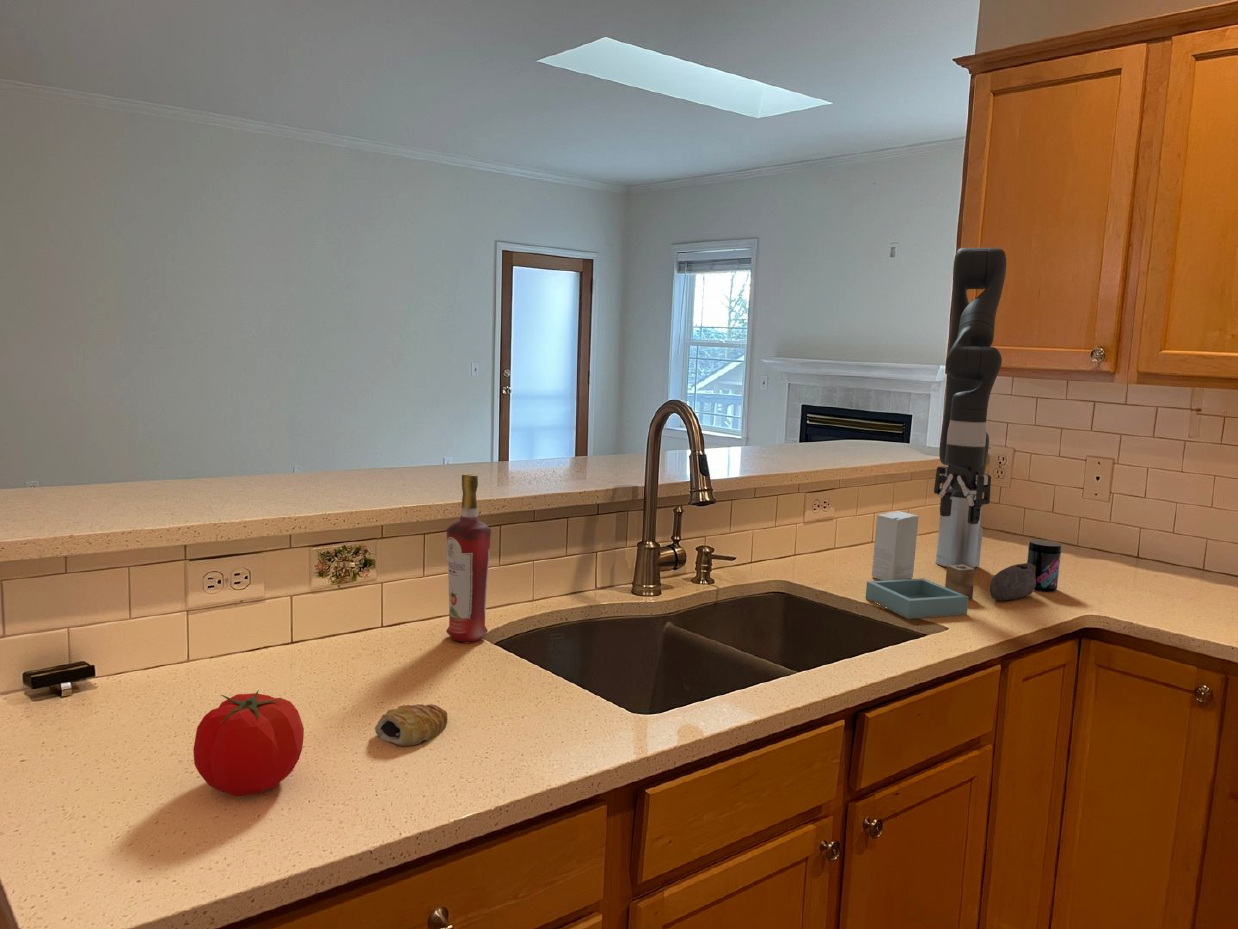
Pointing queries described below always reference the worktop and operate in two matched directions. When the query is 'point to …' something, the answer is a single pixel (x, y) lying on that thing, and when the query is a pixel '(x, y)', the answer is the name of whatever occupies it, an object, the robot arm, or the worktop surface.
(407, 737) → the pastry
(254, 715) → the tomato
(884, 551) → the skincare box
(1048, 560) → the supplement container
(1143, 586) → the worktop surface
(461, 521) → the liquor
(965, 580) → the walnut block
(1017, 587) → the perforated stone tool
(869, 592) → the tray
